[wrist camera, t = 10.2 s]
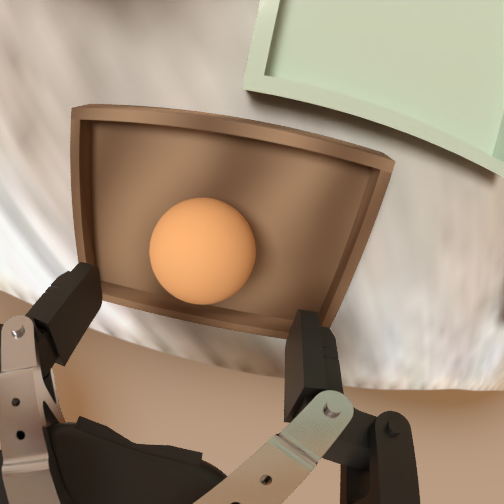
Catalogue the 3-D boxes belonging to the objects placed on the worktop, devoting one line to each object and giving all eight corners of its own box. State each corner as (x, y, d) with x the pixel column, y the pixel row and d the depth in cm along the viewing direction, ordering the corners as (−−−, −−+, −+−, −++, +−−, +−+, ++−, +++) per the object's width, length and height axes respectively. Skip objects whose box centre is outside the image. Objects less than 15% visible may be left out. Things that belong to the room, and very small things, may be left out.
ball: (267, 193, 15) (263, 240, 11) (249, 274, 18) (240, 336, 14) (171, 176, 15) (131, 215, 11) (166, 257, 18) (135, 313, 14)
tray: (383, 153, 14) (395, 161, 13) (319, 325, 21) (322, 344, 19) (89, 104, 14) (71, 108, 12) (95, 279, 20) (84, 294, 18)
